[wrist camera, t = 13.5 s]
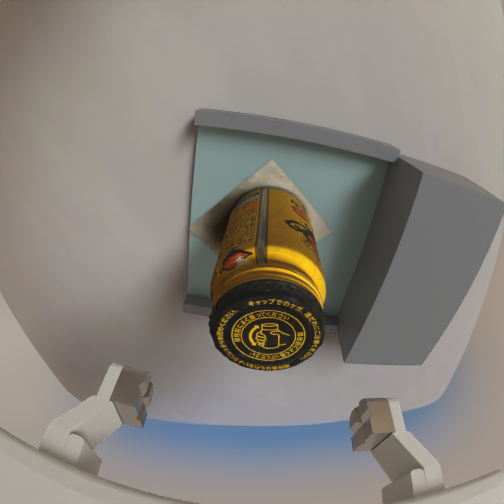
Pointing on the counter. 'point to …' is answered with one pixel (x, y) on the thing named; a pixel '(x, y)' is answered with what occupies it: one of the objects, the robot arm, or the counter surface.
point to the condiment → (265, 272)
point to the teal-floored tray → (356, 229)
